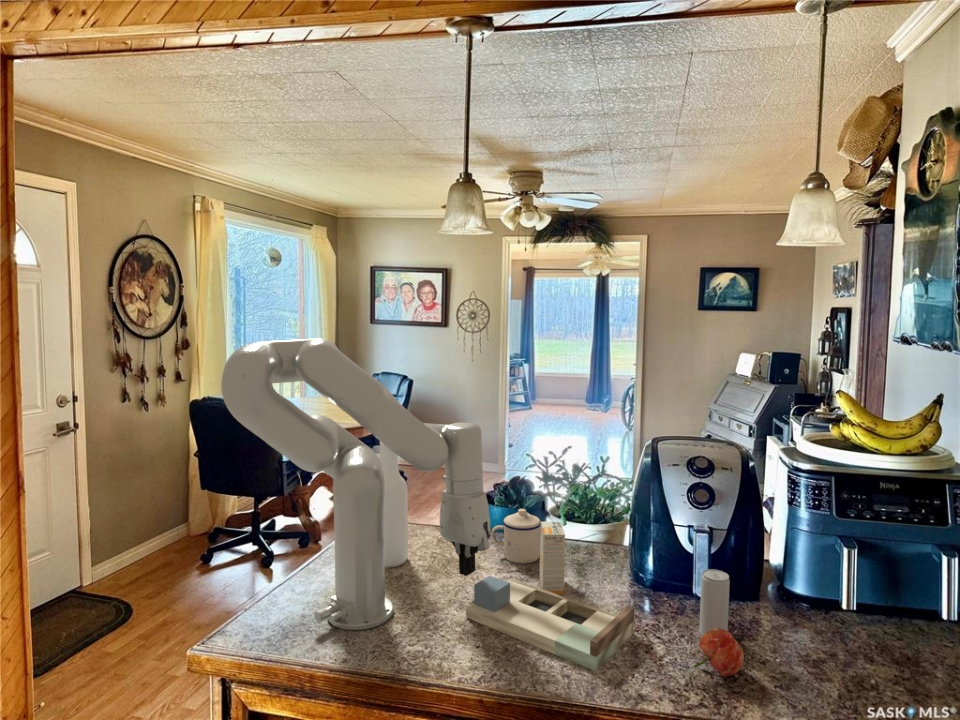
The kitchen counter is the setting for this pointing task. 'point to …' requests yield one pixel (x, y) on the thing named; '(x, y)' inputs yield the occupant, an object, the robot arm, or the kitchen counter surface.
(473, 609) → the board
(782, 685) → the kitchen counter surface
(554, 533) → the supplement box
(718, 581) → the beverage can
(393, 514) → the alcohol
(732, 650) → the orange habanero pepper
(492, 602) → the slate block
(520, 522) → the teacup with lid
